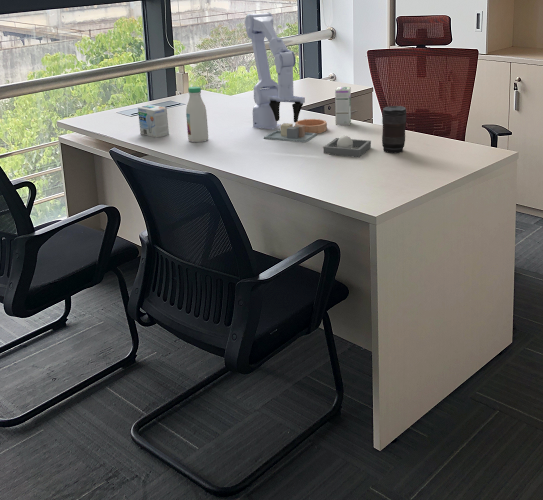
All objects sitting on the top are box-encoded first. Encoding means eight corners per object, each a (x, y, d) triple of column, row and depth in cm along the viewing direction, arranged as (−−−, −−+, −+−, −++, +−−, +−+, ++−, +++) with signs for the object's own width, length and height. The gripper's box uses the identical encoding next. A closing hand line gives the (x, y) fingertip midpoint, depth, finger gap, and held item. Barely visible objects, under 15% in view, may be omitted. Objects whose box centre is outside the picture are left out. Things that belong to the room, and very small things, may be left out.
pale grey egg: (342, 154, 234) (342, 138, 232) (333, 151, 238) (333, 135, 236) (361, 151, 237) (361, 135, 235) (351, 147, 242) (352, 132, 239)
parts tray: (263, 139, 256) (263, 136, 255) (275, 133, 265) (275, 130, 264) (305, 143, 249) (305, 140, 248) (316, 136, 258) (316, 133, 258)
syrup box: (349, 125, 272) (350, 89, 266) (334, 125, 273) (335, 89, 267) (350, 122, 277) (351, 86, 271) (336, 122, 278) (336, 86, 272)
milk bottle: (211, 138, 261) (208, 85, 253) (203, 143, 254) (199, 89, 246) (193, 137, 263) (189, 85, 255) (185, 142, 257) (180, 89, 248)
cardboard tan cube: (293, 137, 256) (293, 126, 255) (296, 134, 259) (295, 124, 258) (302, 137, 255) (302, 127, 253) (304, 135, 258) (304, 124, 256)
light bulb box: (139, 134, 271) (136, 107, 267) (153, 130, 276) (150, 104, 271) (156, 137, 264) (153, 110, 260) (169, 134, 269) (167, 107, 264)
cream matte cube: (280, 135, 259) (280, 125, 257) (284, 133, 262) (284, 123, 260) (289, 136, 258) (288, 125, 256) (292, 134, 260) (292, 123, 259)
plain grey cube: (287, 139, 254) (286, 128, 252) (290, 136, 257) (290, 126, 255) (295, 139, 252) (295, 129, 251) (299, 137, 255) (298, 127, 254)
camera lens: (378, 148, 239) (380, 106, 233) (401, 147, 240) (403, 105, 234) (384, 154, 232) (385, 111, 226) (407, 153, 232) (409, 109, 226)
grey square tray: (323, 154, 235) (323, 146, 234) (336, 144, 246) (336, 137, 245) (359, 157, 230) (359, 150, 229) (370, 147, 240) (370, 140, 239)
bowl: (290, 133, 263) (290, 124, 262) (302, 126, 273) (302, 118, 272) (319, 135, 258) (319, 127, 257) (330, 128, 268) (330, 120, 267)
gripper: (263, 86, 252) (264, 122, 257) (299, 87, 246) (300, 124, 251) (271, 82, 258) (272, 118, 263) (306, 84, 252) (307, 120, 257)
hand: (286, 121), depth 258 cm, fingers open, 7 cm apart
